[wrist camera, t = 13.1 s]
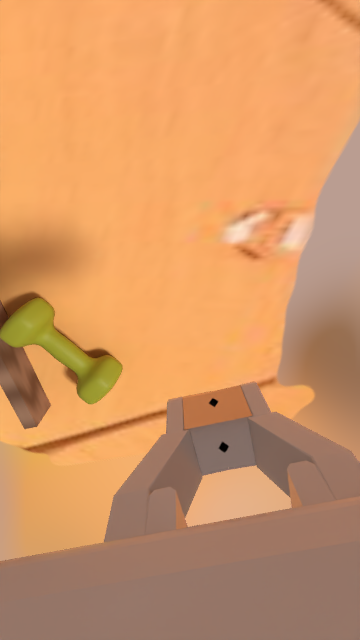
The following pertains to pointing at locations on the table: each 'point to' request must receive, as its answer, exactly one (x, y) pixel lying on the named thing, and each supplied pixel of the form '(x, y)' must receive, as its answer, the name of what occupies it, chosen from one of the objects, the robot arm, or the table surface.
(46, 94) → the table surface
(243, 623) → the robot arm
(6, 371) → the walnut board
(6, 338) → the dumbbell
